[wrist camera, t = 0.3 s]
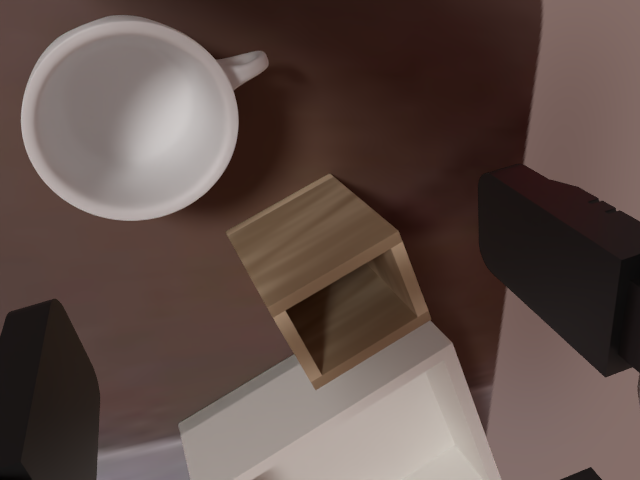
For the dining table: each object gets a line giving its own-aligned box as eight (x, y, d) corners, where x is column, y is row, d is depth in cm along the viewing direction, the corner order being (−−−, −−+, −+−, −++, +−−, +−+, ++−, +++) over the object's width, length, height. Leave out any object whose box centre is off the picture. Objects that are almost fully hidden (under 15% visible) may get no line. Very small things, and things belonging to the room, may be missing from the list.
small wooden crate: (225, 231, 30) (267, 307, 24) (329, 173, 31) (398, 230, 25) (267, 304, 33) (315, 390, 27) (361, 249, 34) (431, 319, 27)
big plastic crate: (178, 423, 35) (195, 502, 29) (400, 290, 37) (452, 342, 31) (283, 550, 43) (310, 628, 38) (459, 436, 45) (507, 495, 40)
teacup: (88, 206, 27) (91, 254, 23) (-9, 50, 23) (-30, 71, 19) (275, 120, 29) (312, 150, 24) (214, -39, 25) (245, -39, 20)
